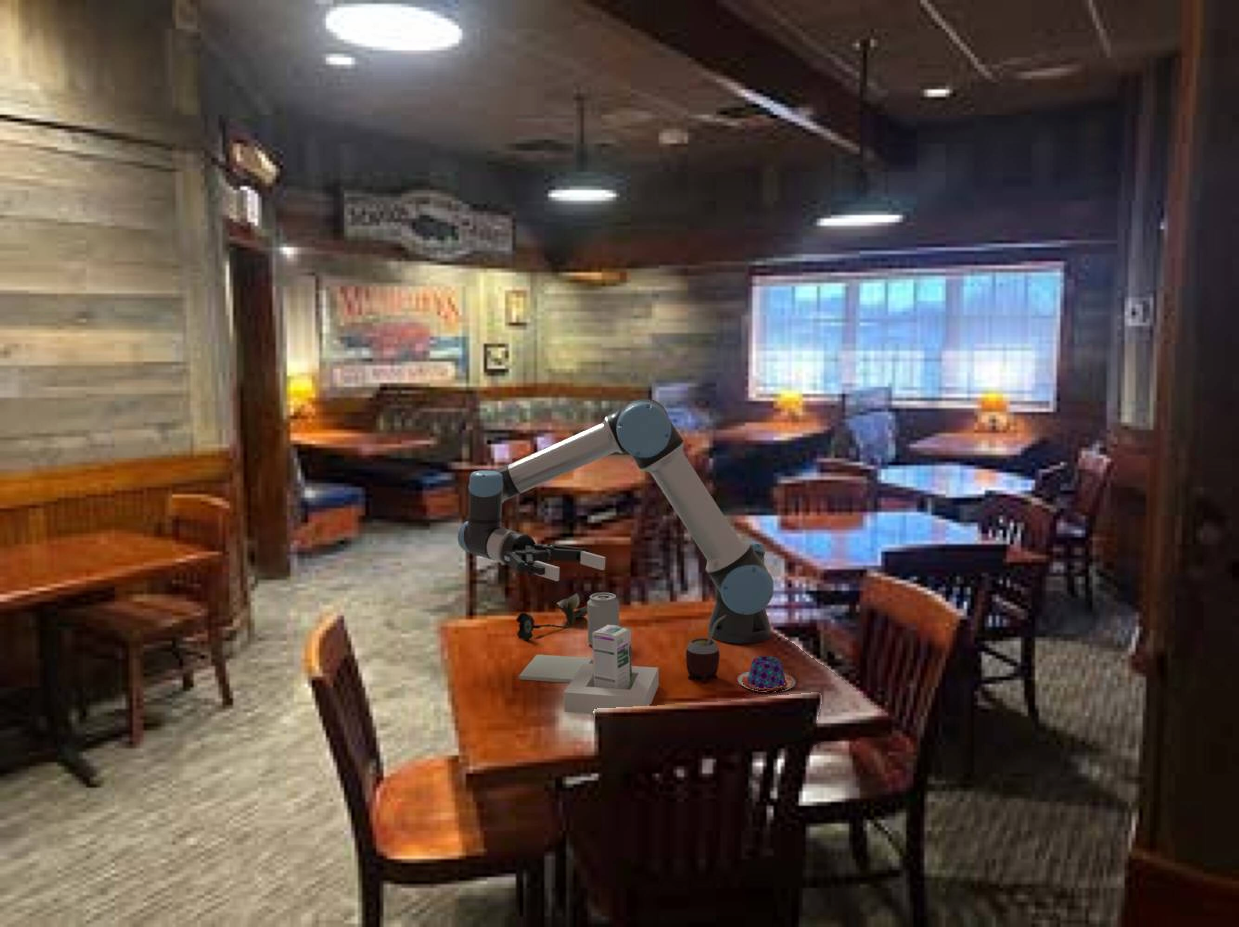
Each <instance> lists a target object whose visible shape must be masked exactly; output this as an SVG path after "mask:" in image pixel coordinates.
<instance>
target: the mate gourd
mask: <svg viewBox="0 0 1239 927" xmlns="http://www.w3.org/2000/svg"><path fill="white" fill-rule="evenodd" d="M726 616H727V615H725V616H723V617H721V618H719V619H718V620H716V621H715V622H714V624H713V626H712V627H713V628H712V630H711V633H710V635H709V636H708V638H705V637H704V638H703V637H701V638H699V637H698V638H694V639H692V640H691V641H690V642H689V643H688V645H687V647H686V651H685V663H686V669H687V672H688V676H687V678H688V680H701V682H702V683H703V684H704V685H705V684H708V681H707V679H709V678H712V679H717V678H718V675H717V673H718V669H719V664H720V657H721V656H720V651H719V647H718V645H717V643H716V642H715V640H713V638H712V635H713V632H714V630H715V628H716V626H717V623H718V622H719V621H720V620H722V619H723V618H724V617H726Z"/></svg>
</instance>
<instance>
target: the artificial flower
mask: <svg viewBox="0 0 1239 927" xmlns="http://www.w3.org/2000/svg"><path fill="white" fill-rule="evenodd" d="M556 604H557V605H558V608H559V609H560V610H561V611H562V612H563V614H564V615H565V619H566V622H567V625H556V624H549V623H548V624H540V625H539V624H535V619H534V617H533V616H532V615H531V614H528V613H527V612H526V613H525V612H521V613H520V614H519V615H518V616H517V618H516V622H517V623H519V624H518V628H519V630H518V631H516V634H517V637H518V639H520V640H522V639H523V641H525V640H531V639H532V638H533V633H532V632H533V631H534V629H540V628H542V627H546V628H547V627H549V628H551V627H555V628H560V629H569V628H570V627H572V626H573V624H574V623H575V622H576V619H577V618H584V617H586V616H587V615H588V609H587V606H584V607H581V608H579V609H577V608H578V606H579V605H580V598H579V595H578V593H575V594H574V595H571V596H569V597H568V598H564V599H561V600H560V601H559V602H556ZM575 609H576V610H575Z"/></svg>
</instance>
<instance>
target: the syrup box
mask: <svg viewBox="0 0 1239 927" xmlns="http://www.w3.org/2000/svg"><path fill="white" fill-rule="evenodd" d="M631 632H632V631H631V628H629V627H626V626H622V625H619V626H617V625H606V626H605V627H603V628H601V629H599V630H597V631H595V632H593V633H592V641H593V646H592V663H593V672H594V687H598V688H612V689H626V690H630V689H631V687H632V666H633V665H632V664H633V663H632V640H631V639H632V637H631V634H632V633H631Z"/></svg>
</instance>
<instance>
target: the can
mask: <svg viewBox="0 0 1239 927" xmlns="http://www.w3.org/2000/svg"><path fill="white" fill-rule="evenodd" d="M586 604H587V606H586V607H587V609H588V614H587V642H588V644H590V646H592V647H593V641H592V633H593V632H595V631H597V630H599V629H601V628H603V627H605V626H606V625H617V626H620V601H619V600H618V599H617V595H616V594H614V593H611V592H595V593H593V594H591V595H589V600H588V601H587V602H586Z"/></svg>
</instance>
